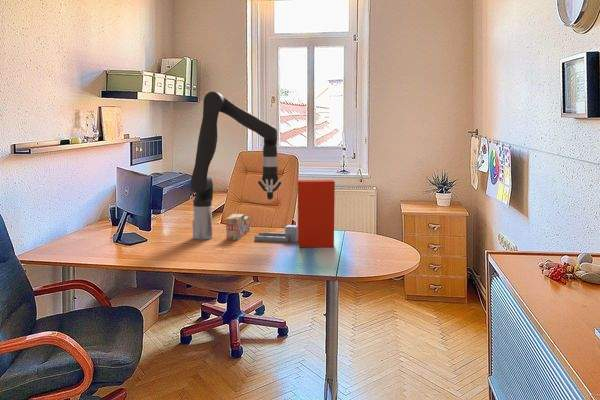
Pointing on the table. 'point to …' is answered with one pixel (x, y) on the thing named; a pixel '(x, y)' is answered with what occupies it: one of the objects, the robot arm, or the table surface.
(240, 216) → the white product box
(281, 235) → the chute
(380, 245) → the table surface
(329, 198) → the file binder
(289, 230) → the block
